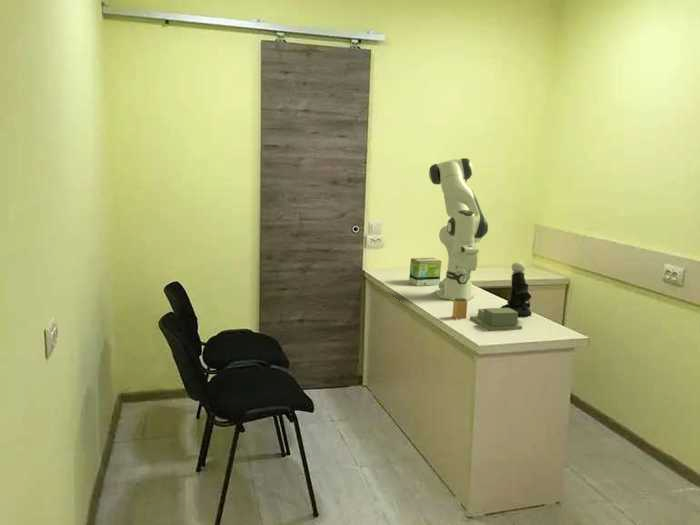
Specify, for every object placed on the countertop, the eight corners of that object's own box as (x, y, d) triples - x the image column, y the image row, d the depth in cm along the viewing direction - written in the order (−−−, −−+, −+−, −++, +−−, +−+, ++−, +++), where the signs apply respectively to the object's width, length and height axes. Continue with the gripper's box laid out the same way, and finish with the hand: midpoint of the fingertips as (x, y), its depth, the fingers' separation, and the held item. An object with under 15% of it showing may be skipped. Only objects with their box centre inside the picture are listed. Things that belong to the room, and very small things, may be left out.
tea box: (417, 286, 332) (418, 261, 329) (408, 282, 341) (410, 257, 338) (440, 285, 338) (441, 259, 335) (430, 281, 347) (432, 256, 344)
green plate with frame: (470, 318, 268) (471, 303, 267) (501, 317, 272) (503, 302, 271) (488, 330, 251) (489, 314, 250) (522, 328, 255) (523, 312, 254)
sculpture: (526, 309, 289) (530, 259, 284) (540, 323, 266) (546, 268, 261) (495, 308, 289) (499, 258, 285) (507, 321, 266) (511, 267, 261)
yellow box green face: (452, 316, 272) (453, 297, 270) (462, 316, 273) (463, 297, 271) (456, 318, 268) (457, 299, 266) (466, 318, 269) (467, 299, 267)
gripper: (448, 243, 274) (446, 272, 276) (467, 250, 254) (465, 281, 256) (460, 243, 275) (458, 272, 277) (480, 250, 256) (478, 281, 258)
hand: (462, 276), depth 267 cm, fingers open, 8 cm apart
